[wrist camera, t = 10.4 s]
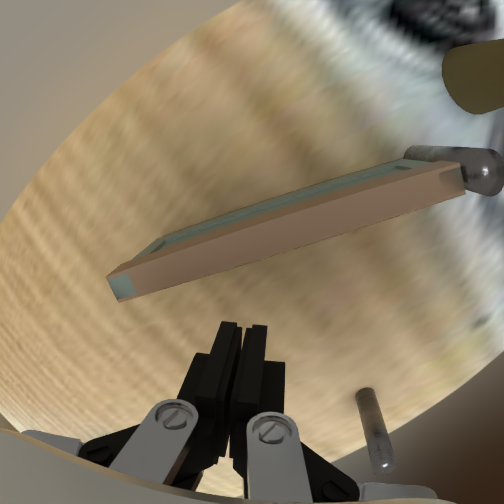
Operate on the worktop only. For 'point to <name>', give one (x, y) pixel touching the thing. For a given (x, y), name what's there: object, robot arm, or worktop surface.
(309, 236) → the gate
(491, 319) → the worktop surface
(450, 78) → the cork
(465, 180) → the gate posts
